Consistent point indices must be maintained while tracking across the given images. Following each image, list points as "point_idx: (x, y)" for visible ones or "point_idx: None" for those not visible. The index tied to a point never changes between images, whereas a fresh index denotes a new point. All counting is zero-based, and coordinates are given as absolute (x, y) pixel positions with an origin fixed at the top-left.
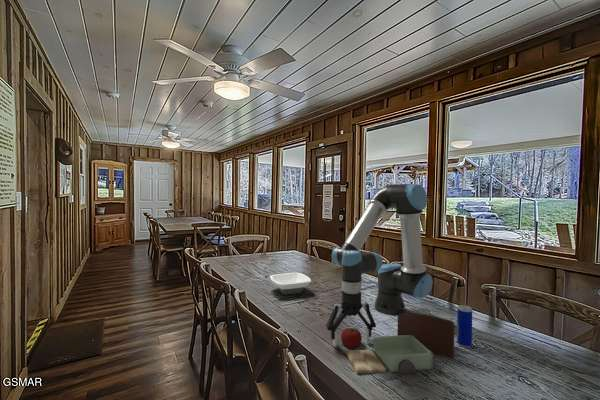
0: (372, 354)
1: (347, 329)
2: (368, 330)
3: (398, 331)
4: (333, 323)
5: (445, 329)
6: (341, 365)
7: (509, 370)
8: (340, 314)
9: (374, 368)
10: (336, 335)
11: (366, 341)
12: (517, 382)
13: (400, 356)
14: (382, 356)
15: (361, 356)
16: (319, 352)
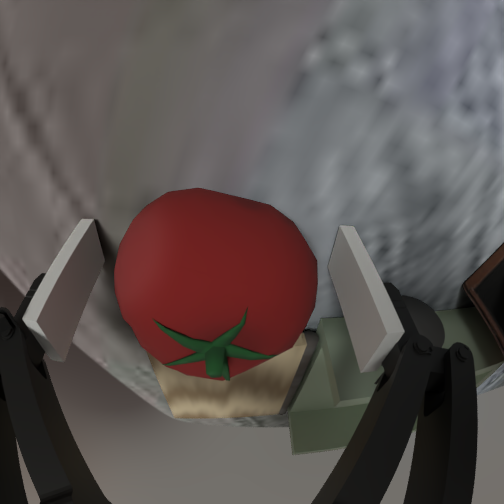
0: (284, 370)
1: (166, 336)
2: (370, 366)
3: (501, 349)
4: (3, 376)
5: None
6: (127, 357)
7: None
8: (49, 500)
9: (240, 413)
10: (69, 336)
11: (338, 280)
12: (483, 383)
13: (328, 450)
14: (321, 376)
15: (219, 381)
16: (23, 267)
